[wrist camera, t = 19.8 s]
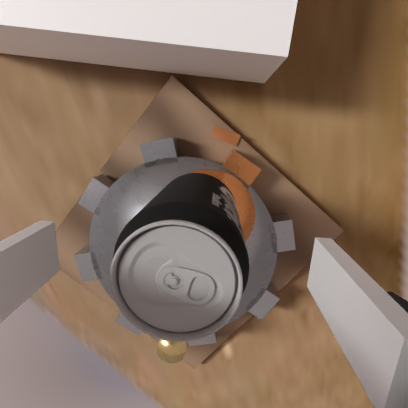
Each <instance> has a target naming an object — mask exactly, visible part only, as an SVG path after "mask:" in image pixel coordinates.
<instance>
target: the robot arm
mask: <svg viewBox="0 0 408 408" xmlns="http://www.w3.org/2000/svg"><path fill="white" fill-rule="evenodd" d="M59 270H60V265H59V256H58V247H57V239H56V230H55V222H53V221H38V222H36V223H35V224H33V225H31V226H29V227H27V228H25V229H23V230H21V231H19V232H17V233H15V234H13V235H11V236H9V237H7V238H5V239H3V240H1V241H0V323H1V322H2V321H3V320H4V319H5V318H6V317H8V316H9V315H10V314H11V313H12V312H13V311H14V310H15V309H17V308H18V307H19V306H20V305H21V304H22V303H23V302H25V301H26V300H27V299H28V298H29V297H30V296H31V295H32V294H34V293H35V292H36V291H37V290H38V289H39V288H40V287H41V286H43V285H44V284H45V283H46V282H47V281H48V280H49V279H50V278H52V277H53V276H54V275H55V274H56V273H57V272H58V271H59ZM307 288H308V289H309V291H310V293H311V295H312V297H313V298H314V300H315V302H316V304H317V305H318V307H319V309H320V311H321V313H322V314H323V316H324V318H325V320H326V322H327V323H328V325H329V327H330V329H331V331H332V332H333V334H334V336H335V338H336V340H337V341H338V343H339V345H340V347H341V349H342V350H343V352H344V354H345V356H346V358H347V359H348V361H349V363H350V365H351V367H352V368H353V370H354V372H355V374H356V375H357V377H358V379H359V381H360V383H361V384H362V386H363V388H364V390H365V392H366V393H367V395H368V397H369V399H370V401H371V402H372V404H373V406H374V408H408V302H407V301H406V300H404V299H403V298H401V297H399V296H398V295H396V294H394V293H393V292H386V291H385V290H384V289H383V288H381V287H380V286H379V285H378V284H377V283H376V282H375V281H374V280H373V279H372V278H371V277H370V276H369V275H368V274H367V273H366V272H365V271H364V270H363V269H362V268H361V267H360V266H359V265H358V264H357V263H356V262H355V261H354V260H353V259H352V258H351V257H350V256H349V255H348V254H347V253H346V252H345V251H344V250H343V249H342V248H341V247H340V246H339V245H337V244H336V243H335V242H334V241H333V240H332V239H331V238H320V237H315V241H314V247H313V253H312V259H311V265H310V271H309V277H308V283H307Z"/></svg>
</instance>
